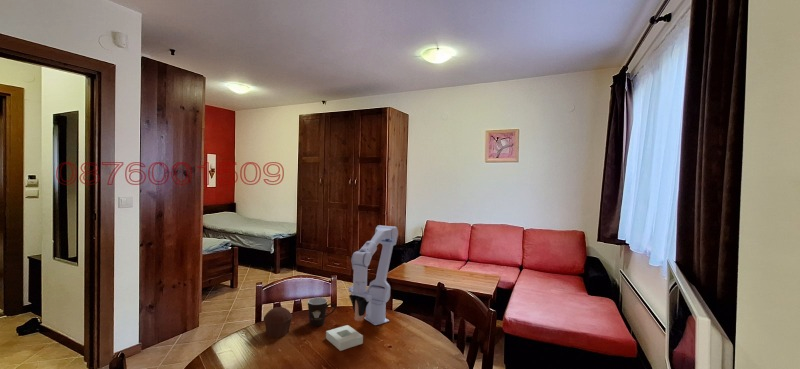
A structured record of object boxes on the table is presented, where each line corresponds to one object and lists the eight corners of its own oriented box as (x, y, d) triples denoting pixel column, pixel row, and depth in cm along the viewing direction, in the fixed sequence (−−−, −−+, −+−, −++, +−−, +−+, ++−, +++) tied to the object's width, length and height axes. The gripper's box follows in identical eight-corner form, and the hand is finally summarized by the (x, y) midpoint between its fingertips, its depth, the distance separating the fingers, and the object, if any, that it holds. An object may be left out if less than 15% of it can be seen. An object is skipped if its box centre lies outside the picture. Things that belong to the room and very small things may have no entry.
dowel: (353, 318, 135) (353, 299, 135) (359, 316, 137) (360, 297, 137) (357, 321, 132) (358, 301, 132) (364, 319, 134) (365, 300, 134)
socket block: (325, 338, 132) (326, 331, 132) (347, 331, 138) (347, 324, 138) (340, 350, 123) (340, 343, 123) (362, 343, 129) (363, 335, 129)
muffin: (259, 331, 136) (259, 307, 136) (285, 324, 144) (285, 301, 144) (269, 342, 127) (270, 316, 127) (296, 334, 135) (297, 310, 135)
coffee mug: (303, 325, 143) (303, 302, 143) (313, 318, 151) (314, 296, 151) (326, 329, 139) (327, 306, 139) (336, 321, 148) (336, 300, 148)
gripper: (342, 278, 137) (341, 310, 137) (361, 287, 126) (360, 322, 126) (357, 275, 142) (355, 306, 142) (376, 284, 131) (375, 317, 131)
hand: (358, 313), depth 134 cm, fingers closed on dowel, 3 cm apart
